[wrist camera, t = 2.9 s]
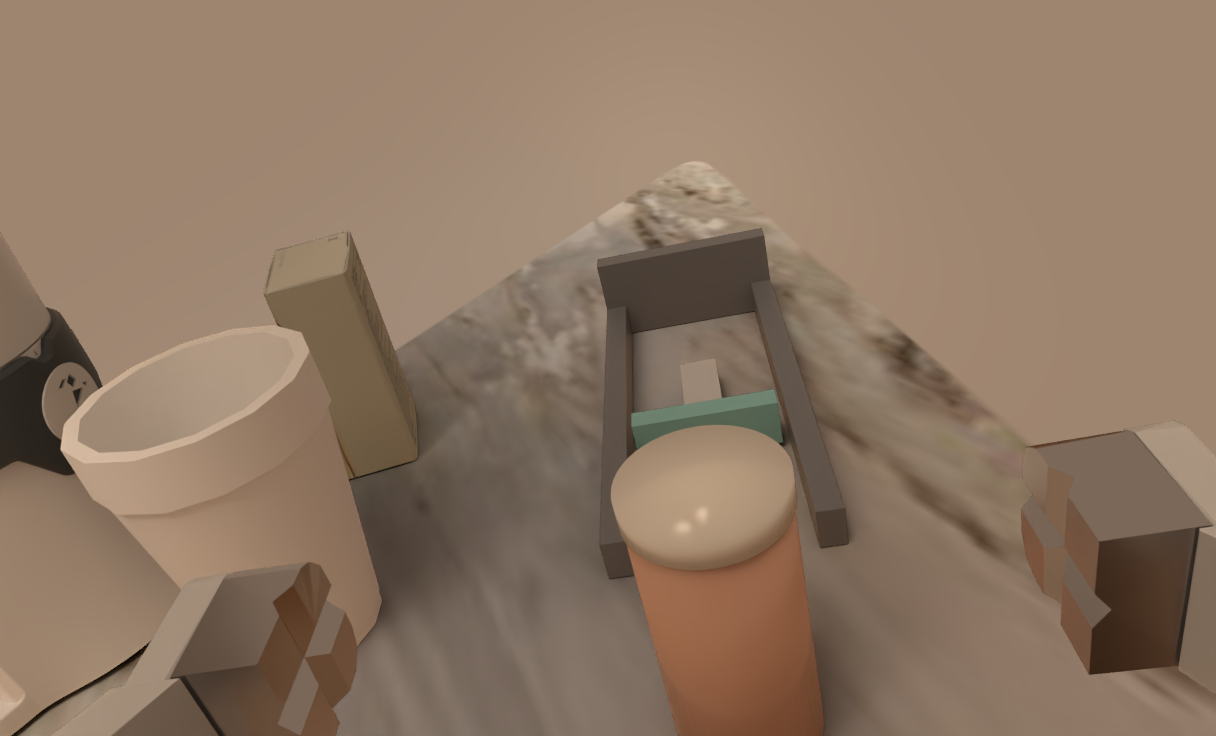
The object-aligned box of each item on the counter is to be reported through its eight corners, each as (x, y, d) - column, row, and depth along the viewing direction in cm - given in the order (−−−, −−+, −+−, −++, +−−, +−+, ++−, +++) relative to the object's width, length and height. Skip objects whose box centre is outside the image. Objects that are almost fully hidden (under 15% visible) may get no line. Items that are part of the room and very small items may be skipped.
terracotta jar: (678, 798, 30) (609, 556, 24) (670, 668, 34) (611, 440, 29) (841, 779, 29) (809, 526, 24) (811, 649, 34) (778, 412, 28)
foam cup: (308, 537, 47) (199, 321, 40) (452, 565, 42) (355, 328, 36) (167, 683, 40) (7, 450, 33) (322, 734, 35) (173, 478, 29)
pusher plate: (783, 442, 44) (777, 402, 43) (640, 465, 45) (631, 427, 44) (764, 369, 50) (758, 332, 49) (638, 391, 51) (630, 355, 50)
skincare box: (350, 426, 55) (271, 249, 49) (419, 405, 56) (350, 227, 50) (345, 484, 50) (257, 293, 44) (422, 461, 50) (345, 268, 44)
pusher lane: (848, 543, 38) (838, 450, 35) (609, 578, 39) (583, 491, 37) (770, 299, 58) (761, 228, 55) (613, 327, 59) (597, 259, 57)
